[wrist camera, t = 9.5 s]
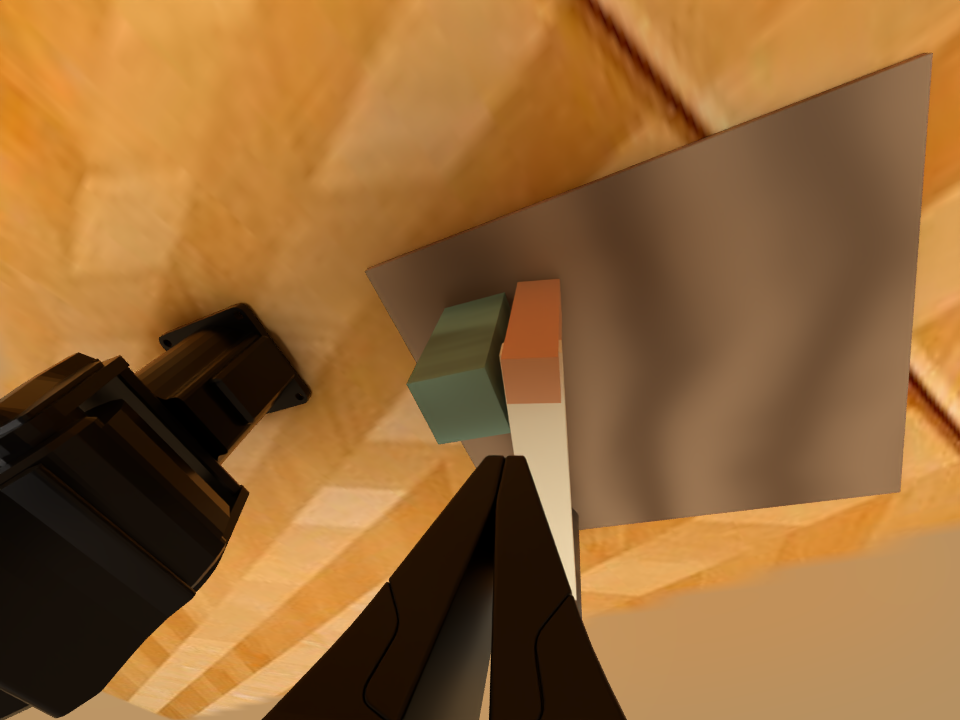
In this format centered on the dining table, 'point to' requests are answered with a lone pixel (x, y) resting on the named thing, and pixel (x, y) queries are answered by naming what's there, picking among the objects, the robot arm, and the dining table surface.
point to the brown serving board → (701, 313)
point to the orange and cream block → (541, 404)
